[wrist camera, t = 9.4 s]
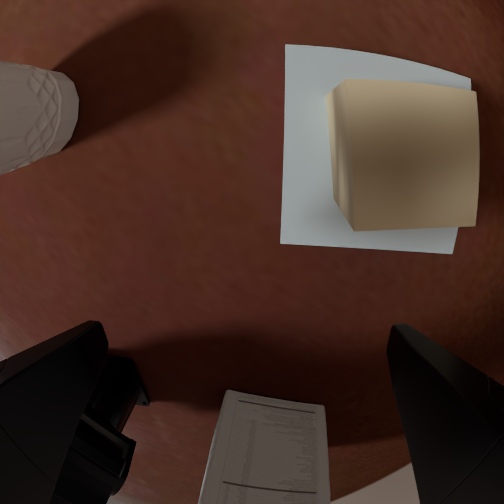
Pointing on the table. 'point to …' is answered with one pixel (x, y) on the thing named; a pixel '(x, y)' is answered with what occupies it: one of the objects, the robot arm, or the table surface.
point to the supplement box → (267, 453)
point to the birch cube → (404, 154)
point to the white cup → (34, 114)
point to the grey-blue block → (319, 154)
